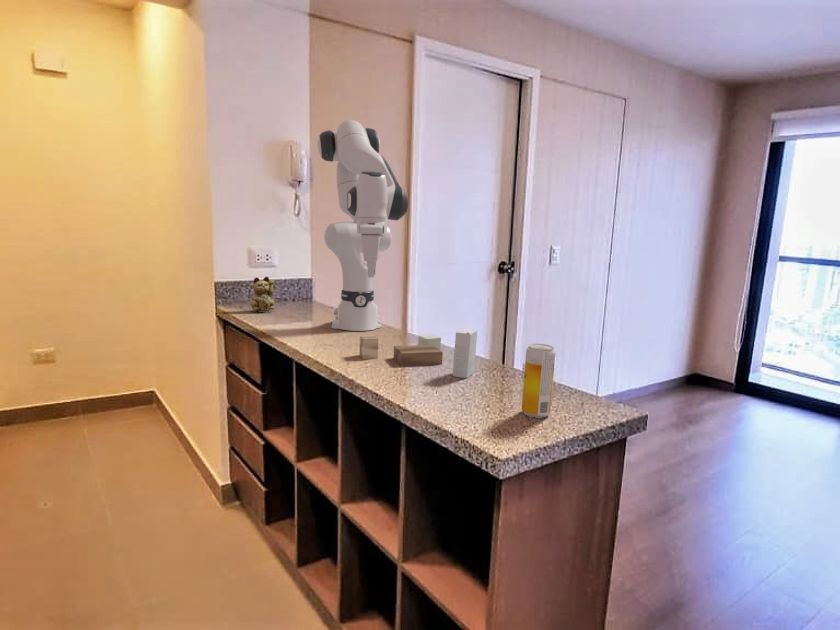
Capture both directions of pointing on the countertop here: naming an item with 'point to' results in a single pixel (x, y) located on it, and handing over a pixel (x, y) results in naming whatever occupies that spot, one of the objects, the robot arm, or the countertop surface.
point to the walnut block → (417, 355)
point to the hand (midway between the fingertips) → (371, 276)
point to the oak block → (369, 347)
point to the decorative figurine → (262, 295)
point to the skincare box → (464, 353)
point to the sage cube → (430, 340)
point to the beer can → (538, 380)
